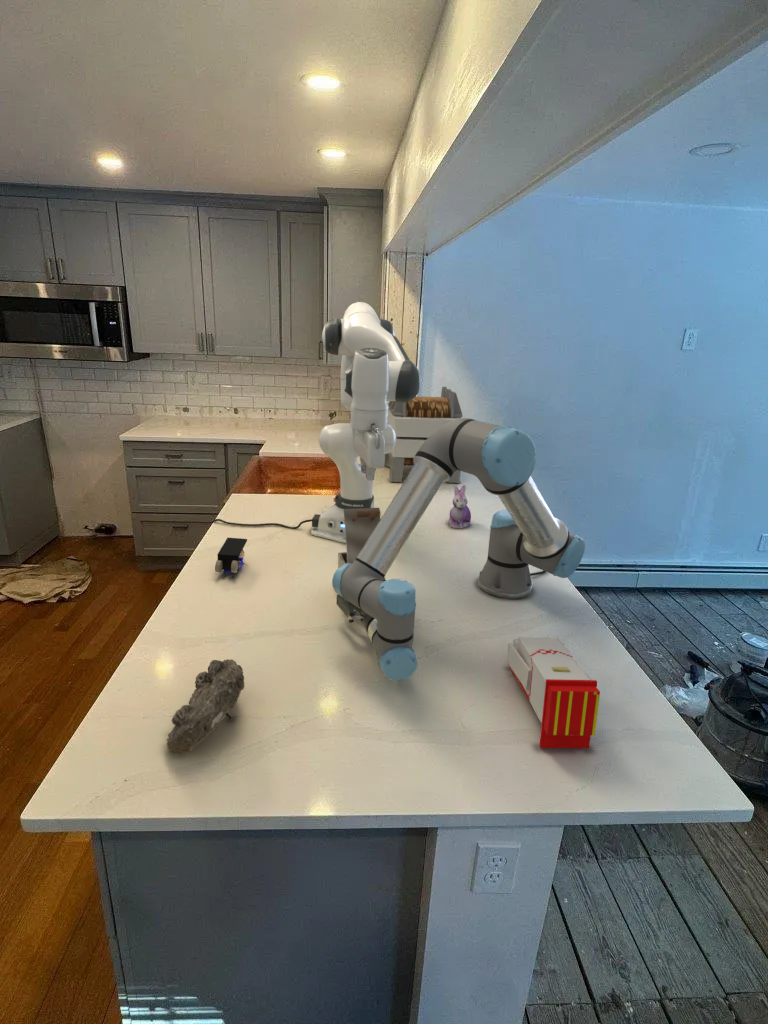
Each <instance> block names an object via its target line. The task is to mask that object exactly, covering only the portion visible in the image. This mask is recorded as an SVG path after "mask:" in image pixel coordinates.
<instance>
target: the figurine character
mask: <svg viewBox="0 0 768 1024" xmlns="http://www.w3.org/2000/svg"><path fill="white" fill-rule="evenodd" d="M247 542H248V538H240V537H226V539H225V541H224V543H223V544H222V546H221V547H220V549H219V551H218V552H217V560H216V562H215V564H214V572H215V573H221V577H222V578H224V577H225V576H226V574H227V573H230V574H231V573H232V574H231V578H234V577H235V575H236V573H237V572H239V571H240V567H242V566H243V565H244V564H245V562H244V558H245V551H244V547H245V546H246V544H247Z"/></svg>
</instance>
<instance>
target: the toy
mask: <svg viewBox="0 0 768 1024" xmlns="http://www.w3.org/2000/svg"><path fill="white" fill-rule="evenodd" d="M505 659H506V660H505V661H506V663H507V664H508V666H509V667H508V669H510V671H511V673H512V674H513V676H514V678H515V680H516V681H517V683H518V685H519V686H520V688H521V689H522V691H523V693H524V694H525V696H526V698H527V700H529V703H530V705H531V707H532V708H533V711H534V712H535V715H536V716H537V718H538V720H539V722H540V725H541V726H540V736H539V744H538V746H539V748H540V749H590V746H591V736H592V737H595V735H596V731H597V730H596V729H597V722H598V721H597V720H598V714H599V713H598V712H599V703H600V697H601V691H600V690H599V688H598V680H596V679H591V678H590V677H589V675H588V674H587V673H586V672H585V670H584V669H583V668H582V667H581V665H580V664H579V663H578V661H577V660H576V659H575V657H574V656H573V655H572V653H570V650H569V649H568V648H567V647H566V645H564V643H563V642H562V641H561V639H560V638H559V637H548V636H547V637H546V636H545V637H543V636H518V638H517V637H515V638H512V643H511V642H508V646H507V653H506V658H505Z"/></svg>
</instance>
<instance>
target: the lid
mask: <svg viewBox="0 0 768 1024" xmlns="http://www.w3.org/2000/svg"><path fill="white" fill-rule="evenodd" d="M380 519H381V510H380V507H374V508H359V509H344V523H345V537H346V543H345V548H346V552H347V563H350V564H353V563H354V561H355V560H356V558H357V556H358V555H359V553H360V551H361V550H362V548H363V547H364V545H365V543H366V542H367V540H368V539H369V537H370V535H371V534H372V532H373V531H374V529H375V527H376V526H377V524H378V523H379V521H380Z"/></svg>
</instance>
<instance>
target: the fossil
mask: <svg viewBox="0 0 768 1024" xmlns="http://www.w3.org/2000/svg"><path fill="white" fill-rule="evenodd" d="M243 670H244V669H243V667H242V665H240V664H237V662H236V661H235V660H234V659H232V658H231V659H227V658H226V659H224V660H223V661H222V660H217V659H212V660H211V661H210V663H209V665H208V666H207V671H201V672H199V673H198V674H197V675H196V676H195V680H194V684H195V685H194V687H195V689H194V690H193V693H192V694H191V697H190V698H189V700H188V704H184V705H182V706H181V707H180V709H177V710H176V711H175V713H174V715H173V716H172V718H171V723H172V724H173V727H172V730H171V731H170V732H168V734H167V738H166V741H167V742H166V745H167V749H168V750H169V751H173V752H174V753H176V754H178V753H182V752H188V751H189V752H192V751H193V750H195V748H196V747H197V746H199V744H200V743H201V742H203V741H204V740H205V739H206V738H207V737H208V736H209V735H210V734H211V733H212V732H214V730H215V729H217V727H218V726H219V724H220V722H221V721H222V720H223V719H224V718H225V716H226V717H227V719H229V720H233V717H232V715H230V714H229V710H230V709H231V708H234V706H235V704H236V703H237V702H238V699H239V697H240V695H241V693H242V691H243V690H245V689H244V688H245V675H244V671H243Z"/></svg>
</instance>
